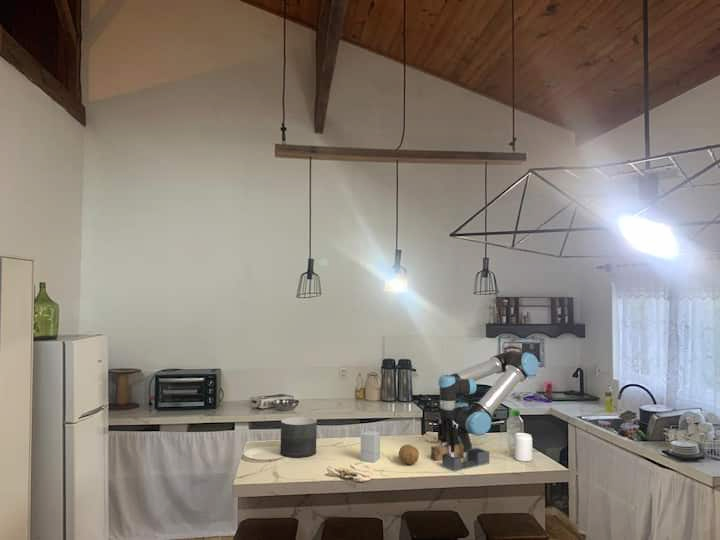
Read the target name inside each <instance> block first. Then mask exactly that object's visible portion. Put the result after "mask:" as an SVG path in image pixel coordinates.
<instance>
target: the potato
mask: <svg viewBox="0 0 720 540" xmlns="http://www.w3.org/2000/svg"><path fill="white" fill-rule="evenodd" d="M419 453H420V452H419V450H418V449H417V447H415V446H413V445H411V444H405V445H402V446H401V447H400V449H399V451H398V458H399V460H400V461H401V462H402V463H405V464H406V465H413V464H415V463H416V462H418V459H419V457H420V455H419Z"/></svg>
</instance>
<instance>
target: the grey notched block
mask: <svg viewBox="0 0 720 540" xmlns="http://www.w3.org/2000/svg"><path fill="white" fill-rule="evenodd" d="M441 464H442V466H441V467H442V468H444V469H446V470H448V471H451V472H455V473H456V472H459V471H464V470H467V469H472V468H476V467H481V466H485V465H489V464H490V450H489V451H488V450H485V449H483V448H479V447H472V449H468V450H466V452H465V460H462V458H461V457H456V458H454V457H451V454H450V453H448V454H443V455H442V463H441ZM463 469H464V470H463Z"/></svg>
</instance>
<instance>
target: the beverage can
mask: <svg viewBox="0 0 720 540" xmlns="http://www.w3.org/2000/svg"><path fill="white" fill-rule="evenodd" d="M514 459H515V460H517V461H519V462H521V461H523V462H522V463H529V462H531V461H533V437H532V434H530V433H526V432H517V433H515V435H514Z"/></svg>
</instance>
